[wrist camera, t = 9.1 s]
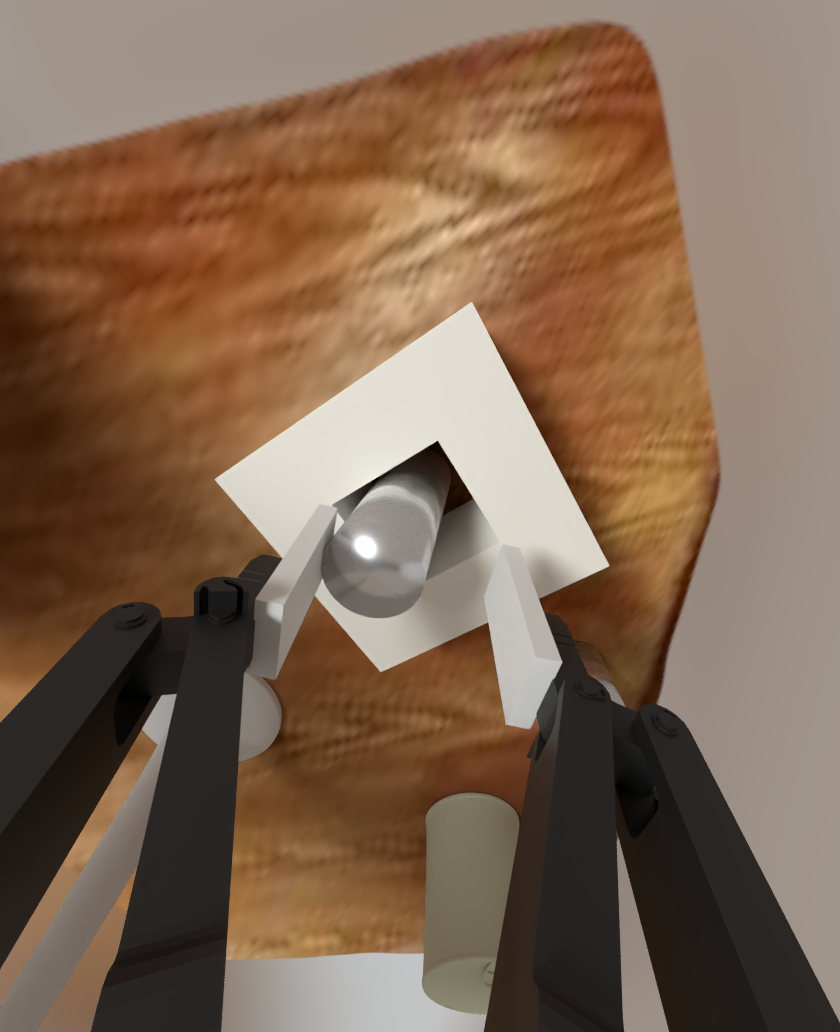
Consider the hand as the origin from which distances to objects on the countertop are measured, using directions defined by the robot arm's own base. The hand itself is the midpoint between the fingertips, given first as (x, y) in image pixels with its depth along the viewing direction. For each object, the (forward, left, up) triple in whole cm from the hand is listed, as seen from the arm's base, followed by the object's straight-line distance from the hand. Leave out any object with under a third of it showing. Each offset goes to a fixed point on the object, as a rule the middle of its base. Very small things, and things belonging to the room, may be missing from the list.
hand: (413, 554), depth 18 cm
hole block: (0, 0, -10) cm, 10 cm away
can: (+33, -15, -10) cm, 38 cm away
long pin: (0, 0, -10) cm, 10 cm away
